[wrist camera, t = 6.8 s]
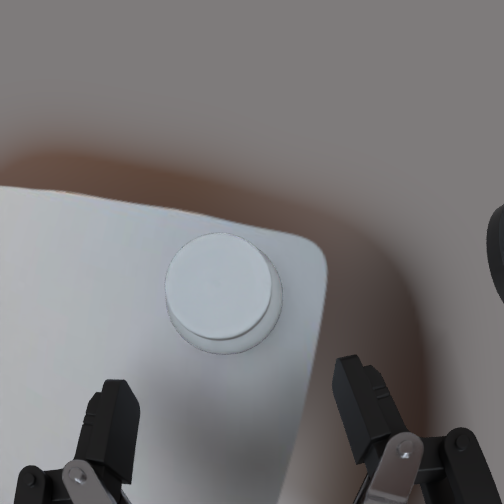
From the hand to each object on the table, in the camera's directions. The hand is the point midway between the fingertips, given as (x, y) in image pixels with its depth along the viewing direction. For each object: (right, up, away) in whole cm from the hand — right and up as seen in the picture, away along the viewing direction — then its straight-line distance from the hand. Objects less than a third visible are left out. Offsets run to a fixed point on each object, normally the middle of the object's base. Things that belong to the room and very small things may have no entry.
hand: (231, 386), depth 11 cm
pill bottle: (-1, +1, +10) cm, 10 cm away
